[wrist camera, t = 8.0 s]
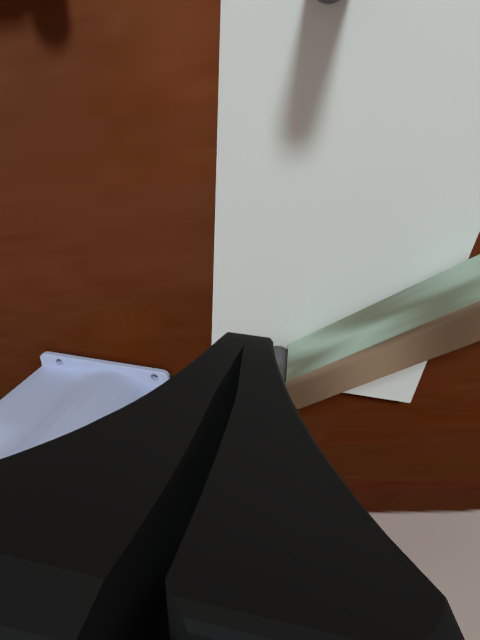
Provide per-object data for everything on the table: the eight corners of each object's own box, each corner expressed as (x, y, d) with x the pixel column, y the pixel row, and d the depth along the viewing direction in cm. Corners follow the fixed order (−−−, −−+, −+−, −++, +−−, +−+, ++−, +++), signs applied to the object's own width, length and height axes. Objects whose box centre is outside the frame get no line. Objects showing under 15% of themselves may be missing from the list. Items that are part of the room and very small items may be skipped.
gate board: (214, 362, 21) (186, 431, 16) (229, -82, 12) (173, -264, 7) (405, 392, 20) (443, 477, 15) (589, -86, 11) (874, -321, 5)
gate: (273, 372, 19) (266, 424, 16) (258, 352, 19) (248, 401, 15) (572, 241, 14) (672, 273, 10) (562, 207, 13) (663, 229, 10)
